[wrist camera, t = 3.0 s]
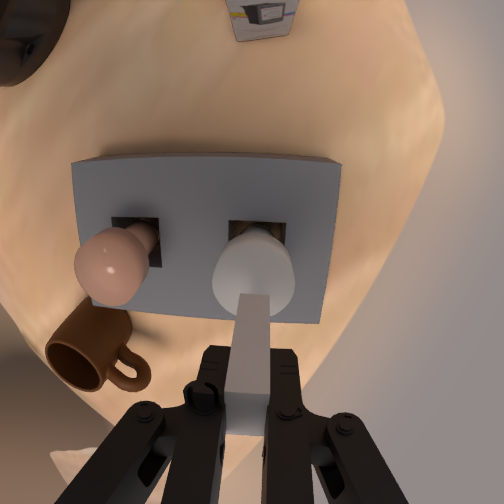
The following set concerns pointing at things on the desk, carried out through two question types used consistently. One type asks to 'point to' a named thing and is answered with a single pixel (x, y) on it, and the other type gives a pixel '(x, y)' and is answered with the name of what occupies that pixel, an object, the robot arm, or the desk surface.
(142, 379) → the mug
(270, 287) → the grey plug
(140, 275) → the terracotta plug
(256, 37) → the ink box
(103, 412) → the desk surface
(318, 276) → the panel
